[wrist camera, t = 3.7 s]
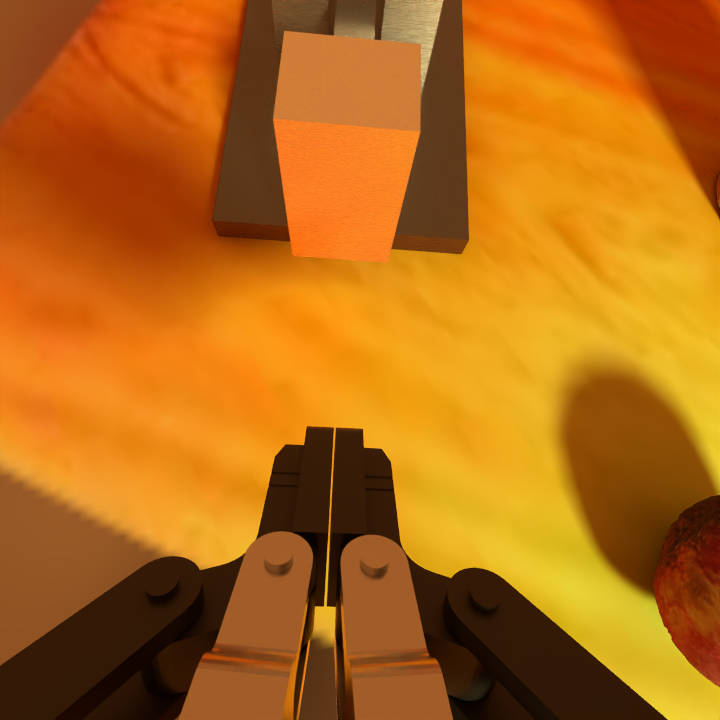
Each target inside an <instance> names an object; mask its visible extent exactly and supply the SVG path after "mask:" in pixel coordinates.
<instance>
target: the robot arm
mask: <svg viewBox="0 0 720 720" xmlns="http://www.w3.org/2000/svg"><path fill="white" fill-rule="evenodd" d="M716 192H717V202H718V205H719V208H720V174H719V176H718V180H717V187H716ZM333 431H334V428H332V427H311V426H307V429H306V436H305V443H304V445H287V444H286V445H285V446H284V447H283V448H282V449H281V451H280V452H279V453H278V454H277V455H276V456H275V459H274V464H273V468H272V474H271V477H270V482H269V487H268V491H267V495H266V500H265V504H264V509H263V513H262V518H261V522H260V527H259V532H258V535H257V538H256V540H255V541H254V542H253V543H252V544H251V545H250V546H249V548H248V549H247V551H246V553H245V554H243V555H242V556H241V557H239V558H238V559H236V560H234V561H232V562H229V563H227V564H223V565H220V566H216V567H212V568H208V569H204V570H199V568H198V566H197V565H196V564H195V563H194V562H192V561H191V560H189V559H186V558H183V557H176V556H171V557H164V558H160V559H157V560H154V561H152V562H150V563H148V564H146V565H144V566H143V567H141V568H140V569H138V570H137V571H135V572H134V573H133V574H131V575H130V576H128V577H127V578H125V579H124V580H123V581H121V582H120V583H118V584H117V585H115V586H114V587H112V588H111V589H110V590H108V591H107V592H105V593H104V594H103V595H101V596H99V597H98V598H97V599H95V600H94V601H92V602H91V603H90V604H88V605H87V606H85V607H84V608H82V609H81V610H79V611H78V612H77V613H75V614H74V615H73V616H71V617H69V618H68V619H67V620H65V621H64V622H62V623H61V624H59V625H58V626H57V627H55V628H54V629H52V630H51V631H49V632H48V633H46V634H45V635H44V636H42V637H41V638H40V639H38V640H36V641H35V642H34V643H32V644H31V645H29V646H28V647H26V648H25V649H24V650H22V651H21V652H19V653H18V654H16V655H15V656H14V657H12V658H11V659H9V660H8V661H6V662H5V663H3V664H2V665H1V666H0V720H175V719H176V718H177V717H178V716H179V714H180V717H179V720H298V717H299V710H300V704H301V698H302V691H303V684H304V678H305V671H306V664H307V658H308V652H309V645H310V638H311V635H312V633H313V627H314V613H315V606H323V607H324V595H325V578H326V561H327V544H328V526H329V507H330V488H331V469H332V450H333ZM392 478H393V477H392V468H391V462H390V460H389V459H388V457H387V456H386V455H385V453H384V452H383V450H382V449H376V448H364V445H363V429H354V428H336V437H335V453H334V470H333V488H332V508H331V529H330V550H329V571H328V592H327V606H330V607H336V620H335V637H334V654H335V677H336V698H337V720H667V719H666V718H665V717H664V716H663V715H662V714H660V713H659V712H658V711H657V710H656V709H655V708H653V707H652V706H651V705H650V704H649V703H648V702H646V701H645V700H644V699H643V698H642V697H641V696H639V695H638V694H637V693H636V692H635V691H634V690H632V689H631V688H630V687H629V686H628V685H627V684H625V683H624V682H623V681H622V680H621V679H620V678H618V677H617V676H616V675H615V674H614V673H613V672H611V671H610V670H609V669H608V668H607V667H606V666H604V665H603V664H602V663H601V662H600V661H599V660H597V659H596V658H595V657H594V656H593V655H592V654H590V653H589V652H588V651H587V650H586V649H585V648H583V647H582V646H581V645H580V644H579V643H578V642H576V641H575V640H574V639H573V638H572V637H571V636H569V635H568V634H567V633H566V632H565V631H564V630H562V629H561V628H560V627H559V626H558V625H557V624H555V623H554V622H553V621H552V620H551V619H550V618H548V617H547V616H546V615H545V614H544V613H543V612H541V611H540V610H539V609H538V608H537V607H536V606H534V605H533V604H532V603H531V602H530V601H529V600H527V599H526V598H525V597H524V596H523V595H522V594H520V593H519V592H518V591H517V590H516V589H515V588H513V587H512V586H511V585H510V584H509V583H508V582H506V581H505V580H504V579H503V578H501V577H500V576H498V575H497V574H495V573H493V572H491V571H488V570H485V569H481V568H467V569H463V570H461V571H459V572H457V573H456V574H455V575H454V576H453V577H452V578H449V577H446V576H443V575H440V574H437V573H434V572H431V571H428V570H426V569H424V568H422V567H420V566H419V565H417V564H416V563H415V562H413V561H412V560H411V559H410V558H409V557H408V555H407V554H406V553H405V551H404V550H403V548H402V545H401V542H400V536H399V528H398V519H397V511H396V502H395V494H394V485H393V480H392Z"/></svg>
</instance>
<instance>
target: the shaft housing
mask: <svg viewBox="0 0 720 720" xmlns="http://www.w3.org/2000/svg"><path fill="white" fill-rule="evenodd" d="M336 4H337V0H248V5H247V11H246V17H245V23H244V29H243V35H242V41H241V47H240V54H239V60H238V66H237V72H236V78H235V84H234V90H233V96H232V103H231V109H230V115H229V121H228V127H227V133H226V139H225V145H224V151H223V158H222V164H221V170H220V176H219V182H218V188H217V194H216V200H215V207H214V213H213V219H212V221H213V223H214V226H215V228H216V231H217V233H218V236H228V237H242V238H255V239H268V240H281V241H290V235H289V228H288V221H287V213H286V206H285V199H284V192H283V185H282V178H281V171H280V164H279V157H278V150H277V143H276V136H275V129H274V121H273V116H274V108H275V100H276V92H277V84H278V76H279V68H280V61H281V53H282V45H283V37H284V31H291V32H302V33H312V34H322V35H332V36H334V28H335V16H336ZM374 40H384V41H394V42H404V43H414V44H421V106H420V135H419V139H418V143H417V147H416V151H415V155H414V159H413V163H412V167H411V171H410V175H409V179H408V183H407V187H406V191H405V195H404V199H403V203H402V207H401V212H400V216H399V220H398V224H397V228H396V232H395V236H394V240H393V244H392V248H391V249H401V250H414V251H428V252H441V253H454V254H462V252H463V250H464V248H465V246H466V244H467V243H468V241H469V230H468V195H467V161H466V127H465V93H464V59H463V25H462V0H376V16H375V37H374Z"/></svg>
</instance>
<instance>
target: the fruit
mask: <svg viewBox="0 0 720 720" xmlns="http://www.w3.org/2000/svg"><path fill="white" fill-rule="evenodd" d="M654 592H655V597H656V602H657V605H658V609H659V613H660V615H661V618H662V621H663V624H664V626H665V627H666V628H667V629H668V632H669V633H670V635H671V636H672V641H673V643H674V644H675V646H676V647H677V648H678V649H679V650H680V651H681V653H682V654H683V655H684V656H685V657H686V659H687V660H688V662H689V663H690V664H691V665H692V666H693V667H694V668H696V669H697V670H698V671H699V672H700V673H701V674H702V675H703V676H705V677H706V678H707V679H708V680H710V681H711V682H713V683H714V684H715V685H717V686H719V687H720V495H718V496H711V497H709V498H707V499H704V500H702V501H700V502H698V503H696V504H694V505H693V506H691V507H690V508H687V509H686V510H685V511H684V512H683V513H682V514H681V515H679V519H678V520H677V521H676V522H674V523H673V524H672V525H671V529H670V531H669V532H668V535H667V536H666V539H665V542H664V545H663V547H662V552H661V556H660V560H659V562H658V566H657V568H656V570H655V575H654Z"/></svg>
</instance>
